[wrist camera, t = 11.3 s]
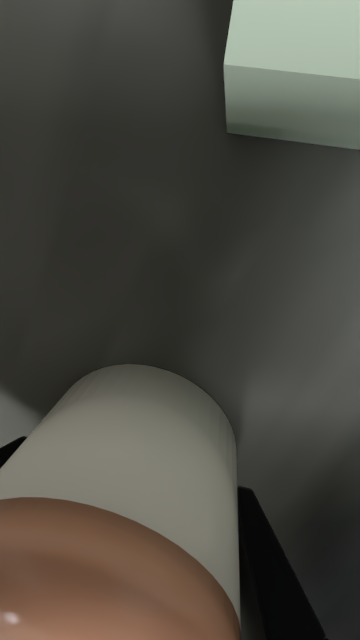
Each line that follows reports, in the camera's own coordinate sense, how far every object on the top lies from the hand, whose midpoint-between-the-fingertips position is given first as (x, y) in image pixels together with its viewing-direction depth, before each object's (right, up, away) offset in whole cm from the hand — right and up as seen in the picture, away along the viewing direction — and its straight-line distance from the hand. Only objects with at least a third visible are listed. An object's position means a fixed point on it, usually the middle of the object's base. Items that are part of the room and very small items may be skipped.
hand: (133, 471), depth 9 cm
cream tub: (0, 0, +1) cm, 1 cm away
